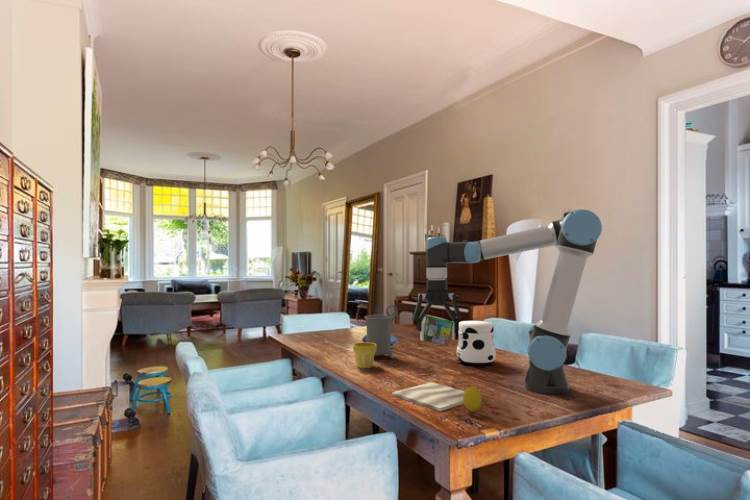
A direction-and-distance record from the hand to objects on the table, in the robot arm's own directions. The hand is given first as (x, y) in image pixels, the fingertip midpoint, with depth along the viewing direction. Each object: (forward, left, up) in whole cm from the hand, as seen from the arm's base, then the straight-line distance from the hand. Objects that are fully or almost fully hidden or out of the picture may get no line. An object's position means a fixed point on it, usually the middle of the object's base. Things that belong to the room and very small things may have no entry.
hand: (437, 339), depth 167 cm
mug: (+54, -20, -18) cm, 60 cm away
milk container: (+16, -44, -18) cm, 50 cm away
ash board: (-6, +8, -18) cm, 20 cm away
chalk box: (+7, -5, +3) cm, 9 cm away
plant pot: (+44, -2, -18) cm, 48 cm away
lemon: (-24, +11, -18) cm, 32 cm away
